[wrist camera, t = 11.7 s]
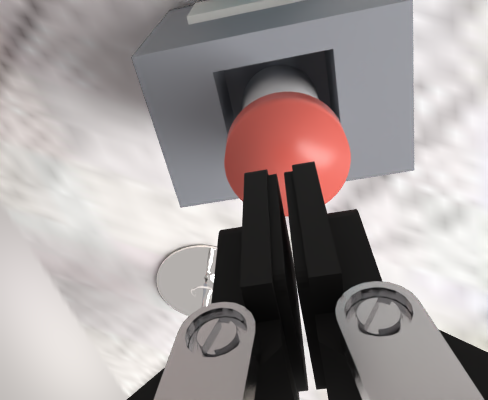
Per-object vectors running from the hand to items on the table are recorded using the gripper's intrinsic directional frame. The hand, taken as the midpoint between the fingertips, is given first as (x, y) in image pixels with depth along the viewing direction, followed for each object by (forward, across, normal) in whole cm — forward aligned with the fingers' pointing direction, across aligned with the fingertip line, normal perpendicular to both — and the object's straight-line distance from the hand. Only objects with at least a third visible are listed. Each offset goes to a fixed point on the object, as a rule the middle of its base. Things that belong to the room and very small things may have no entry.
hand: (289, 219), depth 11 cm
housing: (+14, 0, 0) cm, 14 cm away
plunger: (+8, 0, 0) cm, 8 cm away
